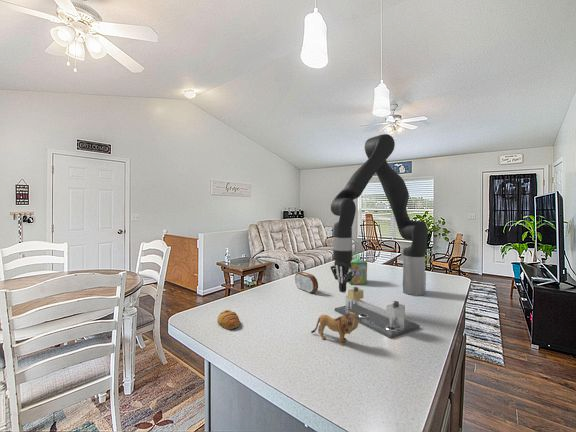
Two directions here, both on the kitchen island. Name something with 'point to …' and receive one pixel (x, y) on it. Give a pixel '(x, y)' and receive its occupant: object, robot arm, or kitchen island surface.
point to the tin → (306, 282)
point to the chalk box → (359, 271)
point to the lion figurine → (338, 325)
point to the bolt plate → (377, 321)
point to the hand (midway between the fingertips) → (342, 291)
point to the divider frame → (385, 311)
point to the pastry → (228, 319)
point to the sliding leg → (354, 295)
